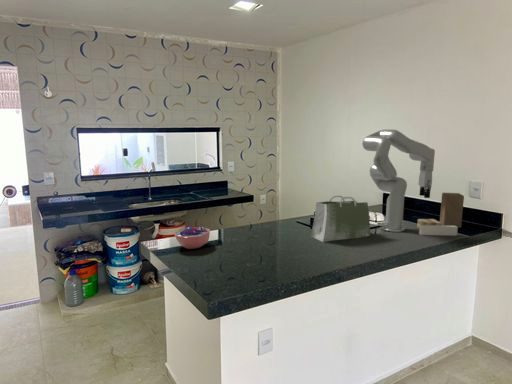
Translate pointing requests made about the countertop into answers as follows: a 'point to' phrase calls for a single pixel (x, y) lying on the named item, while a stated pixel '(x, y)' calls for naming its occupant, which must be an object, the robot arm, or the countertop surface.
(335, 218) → the grocery bag
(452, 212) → the wooden block
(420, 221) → the oak block
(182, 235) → the cell model
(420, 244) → the countertop surface
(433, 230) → the cream board
